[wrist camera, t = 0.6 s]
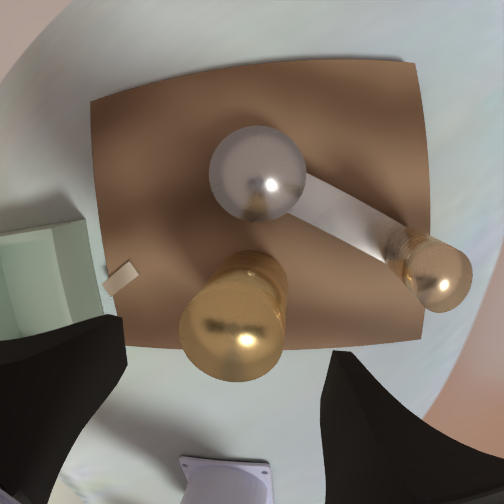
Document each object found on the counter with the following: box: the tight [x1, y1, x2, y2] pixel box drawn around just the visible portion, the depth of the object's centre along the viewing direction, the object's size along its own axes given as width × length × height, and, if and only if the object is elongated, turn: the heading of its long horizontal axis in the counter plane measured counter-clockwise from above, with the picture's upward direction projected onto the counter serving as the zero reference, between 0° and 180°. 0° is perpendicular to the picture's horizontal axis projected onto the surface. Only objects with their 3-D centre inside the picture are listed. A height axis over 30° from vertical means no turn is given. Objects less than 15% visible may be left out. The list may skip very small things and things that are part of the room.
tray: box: [0, 219, 104, 341], centre depth 19 cm, size 11×11×4 cm
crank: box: [209, 126, 473, 313], centre depth 13 cm, size 11×4×6 cm, turn 65°
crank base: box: [90, 59, 430, 350], centre depth 17 cm, size 16×20×1 cm
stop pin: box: [179, 250, 288, 382], centre depth 14 cm, size 4×4×6 cm
